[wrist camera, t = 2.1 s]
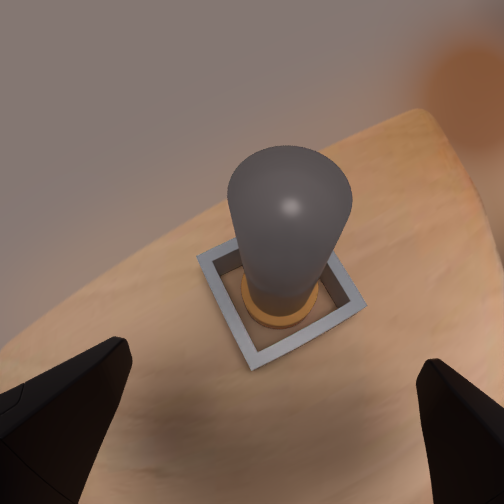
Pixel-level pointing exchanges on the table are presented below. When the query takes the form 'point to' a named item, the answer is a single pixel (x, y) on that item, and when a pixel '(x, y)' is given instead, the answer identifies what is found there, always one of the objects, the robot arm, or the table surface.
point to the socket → (347, 304)
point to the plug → (286, 228)
